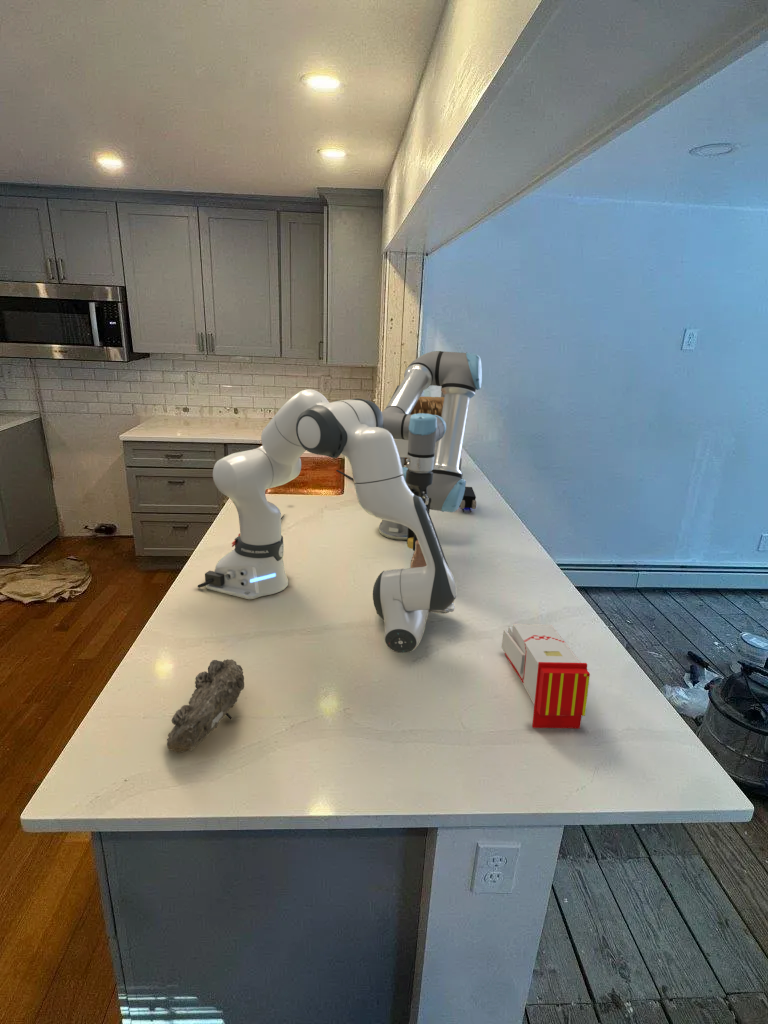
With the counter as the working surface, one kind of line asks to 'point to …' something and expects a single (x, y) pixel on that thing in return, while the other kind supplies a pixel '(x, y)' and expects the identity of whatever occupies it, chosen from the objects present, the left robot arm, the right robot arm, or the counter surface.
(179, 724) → the fossil
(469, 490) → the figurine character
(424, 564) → the bottle
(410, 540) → the cap
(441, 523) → the counter surface
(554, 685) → the toy
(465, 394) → the right robot arm
